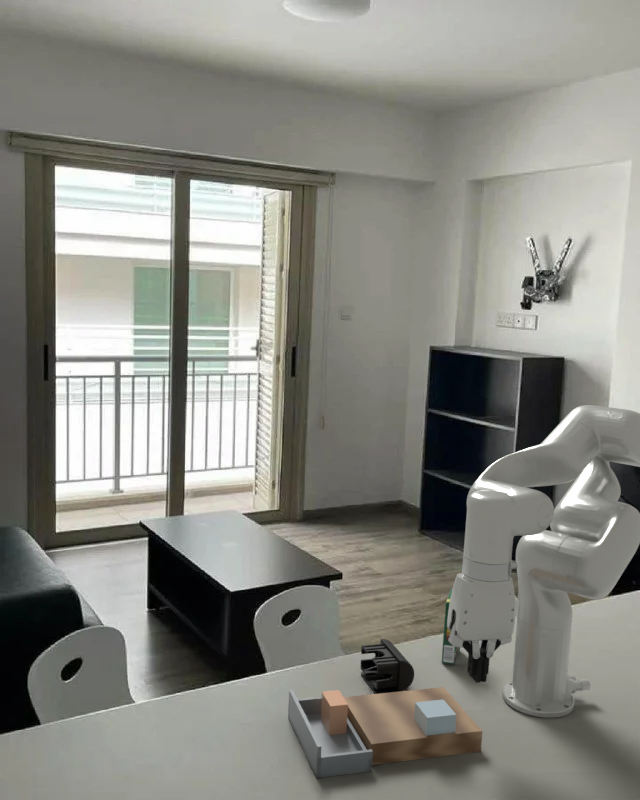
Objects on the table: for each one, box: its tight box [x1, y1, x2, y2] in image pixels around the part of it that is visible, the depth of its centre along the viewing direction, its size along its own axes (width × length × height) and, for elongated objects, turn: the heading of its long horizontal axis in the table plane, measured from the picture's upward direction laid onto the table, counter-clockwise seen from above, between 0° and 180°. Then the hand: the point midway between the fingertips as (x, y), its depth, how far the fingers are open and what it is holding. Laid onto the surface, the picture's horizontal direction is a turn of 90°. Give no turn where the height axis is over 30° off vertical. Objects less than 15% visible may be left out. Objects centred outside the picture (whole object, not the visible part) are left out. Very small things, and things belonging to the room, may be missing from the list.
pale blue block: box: [414, 700, 456, 736], centre depth 132 cm, size 5×5×3 cm
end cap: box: [360, 638, 415, 694], centre depth 153 cm, size 10×7×7 cm
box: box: [287, 689, 373, 779], centre depth 132 cm, size 9×18×5 cm, turn 16°
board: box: [343, 686, 483, 766], centre depth 136 cm, size 19×15×4 cm
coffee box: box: [441, 588, 461, 666], centre depth 165 cm, size 8×3×13 cm, turn 163°
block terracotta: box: [321, 689, 348, 735], centre depth 136 cm, size 5×5×3 cm
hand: (477, 678), depth 133 cm, fingers closed
